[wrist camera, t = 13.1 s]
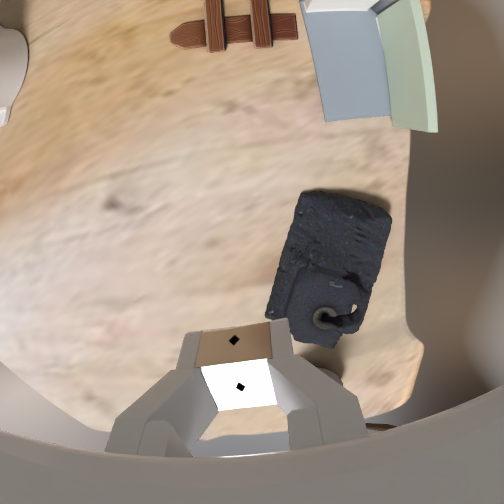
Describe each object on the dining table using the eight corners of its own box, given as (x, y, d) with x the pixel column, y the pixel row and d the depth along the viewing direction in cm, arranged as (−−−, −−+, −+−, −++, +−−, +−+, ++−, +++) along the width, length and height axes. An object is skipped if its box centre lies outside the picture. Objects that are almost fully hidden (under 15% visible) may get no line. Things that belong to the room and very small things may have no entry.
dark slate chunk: (402, 209, 40) (417, 220, 36) (351, 336, 49) (359, 355, 45) (297, 182, 39) (303, 191, 34) (259, 324, 48) (260, 344, 43)
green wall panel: (377, 15, 28) (408, -6, 20) (385, 16, 28) (418, -4, 20) (392, 126, 34) (428, 132, 26) (400, 126, 34) (437, 132, 26)
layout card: (325, 121, 35) (326, 121, 35) (299, 1, 29) (299, 0, 28) (405, 114, 34) (407, 114, 34) (381, 0, 28) (383, -1, 27)
